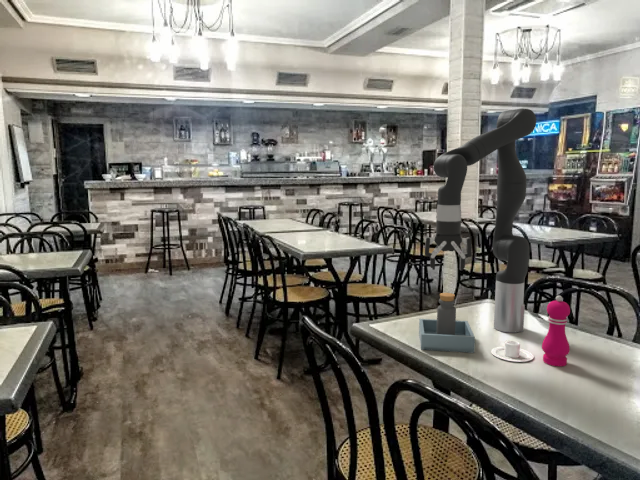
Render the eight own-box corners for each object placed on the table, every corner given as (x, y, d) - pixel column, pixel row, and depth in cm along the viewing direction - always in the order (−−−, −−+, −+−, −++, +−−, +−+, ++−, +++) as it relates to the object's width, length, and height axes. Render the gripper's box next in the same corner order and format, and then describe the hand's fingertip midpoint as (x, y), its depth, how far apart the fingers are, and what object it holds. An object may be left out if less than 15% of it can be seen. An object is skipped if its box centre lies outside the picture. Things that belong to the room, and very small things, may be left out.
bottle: (453, 336, 158) (454, 292, 155) (456, 342, 152) (458, 297, 150) (435, 335, 158) (436, 291, 156) (437, 342, 152) (439, 296, 150)
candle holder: (499, 346, 153) (499, 333, 152) (538, 355, 145) (539, 341, 144) (485, 357, 143) (485, 343, 143) (526, 367, 136) (527, 352, 135)
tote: (466, 335, 162) (467, 320, 161) (474, 352, 146) (474, 337, 145) (419, 332, 164) (419, 318, 163) (420, 349, 149) (421, 334, 148)
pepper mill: (557, 369, 134) (562, 300, 131) (535, 360, 140) (539, 294, 137) (574, 364, 137) (579, 297, 134) (551, 355, 143) (556, 291, 140)
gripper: (426, 220, 147) (425, 271, 149) (474, 220, 144) (472, 272, 147) (424, 217, 154) (423, 266, 156) (470, 218, 152) (468, 267, 154)
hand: (447, 269), depth 152 cm, fingers open, 8 cm apart
